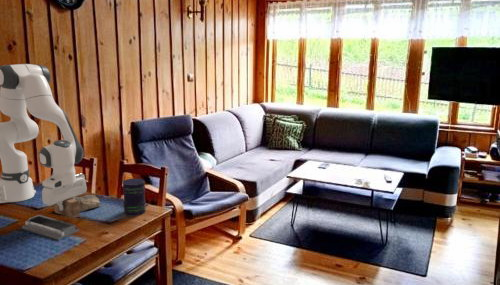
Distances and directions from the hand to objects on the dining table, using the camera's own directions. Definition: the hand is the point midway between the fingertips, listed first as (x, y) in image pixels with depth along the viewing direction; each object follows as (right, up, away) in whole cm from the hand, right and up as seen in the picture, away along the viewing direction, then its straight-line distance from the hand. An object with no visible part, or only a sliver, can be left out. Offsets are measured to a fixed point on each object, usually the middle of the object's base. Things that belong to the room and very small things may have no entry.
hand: (66, 208), depth 177 cm
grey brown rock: (-2, -3, +16) cm, 17 cm away
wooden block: (0, -3, +1) cm, 3 cm away
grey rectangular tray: (-3, -8, -8) cm, 12 cm away
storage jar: (+27, -4, +12) cm, 30 cm away
